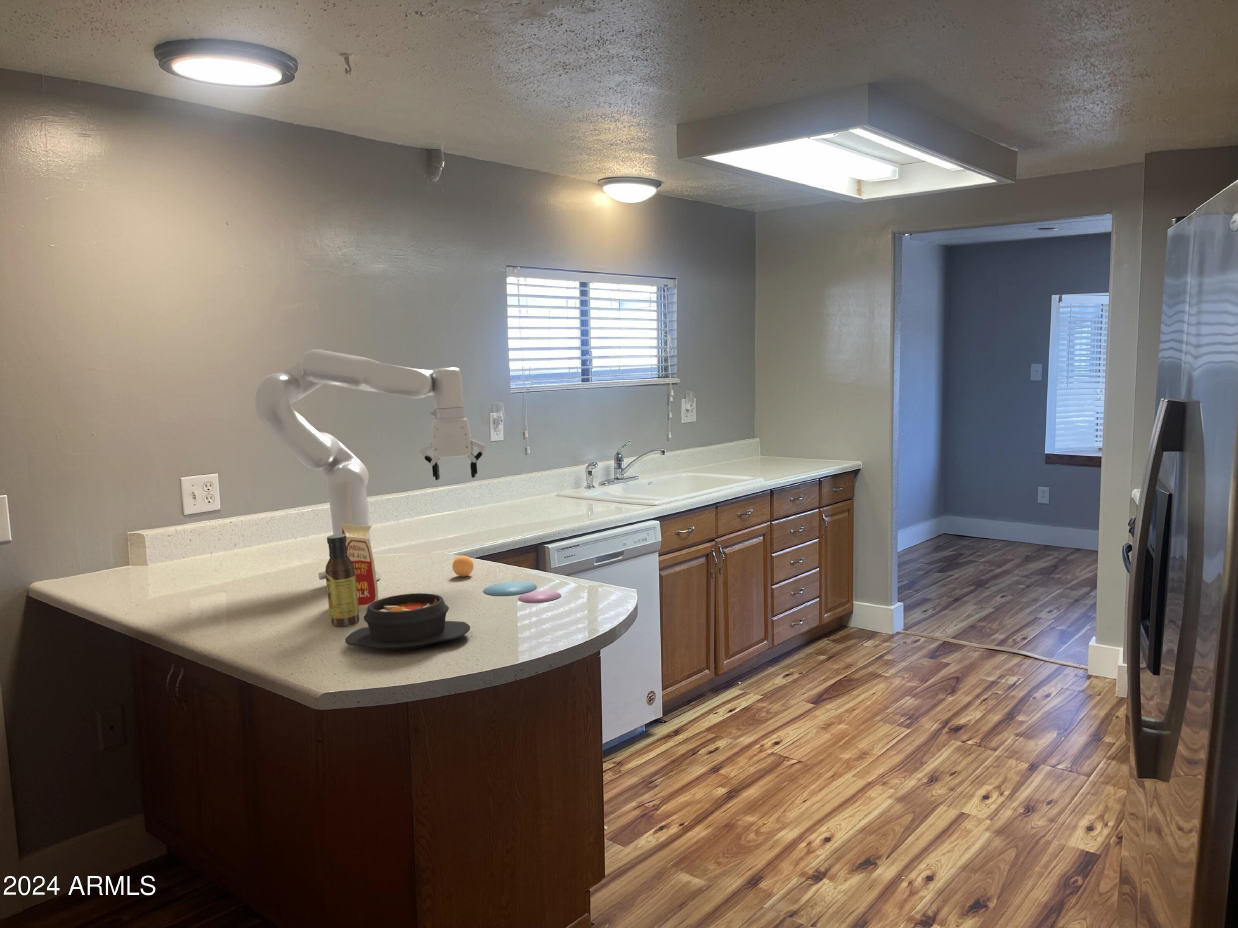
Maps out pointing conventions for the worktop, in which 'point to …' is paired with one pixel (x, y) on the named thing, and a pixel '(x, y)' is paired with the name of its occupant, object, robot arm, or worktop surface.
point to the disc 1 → (510, 588)
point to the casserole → (407, 623)
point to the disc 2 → (539, 596)
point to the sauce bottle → (341, 583)
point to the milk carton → (362, 562)
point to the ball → (462, 566)
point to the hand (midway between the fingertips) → (455, 478)
